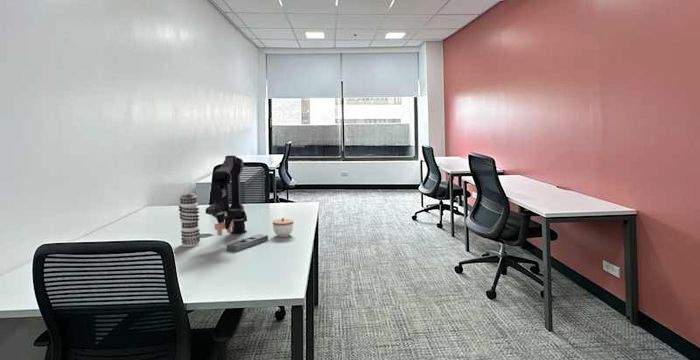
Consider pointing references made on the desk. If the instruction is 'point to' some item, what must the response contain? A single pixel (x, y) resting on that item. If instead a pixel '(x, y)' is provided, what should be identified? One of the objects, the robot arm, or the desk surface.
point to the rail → (247, 242)
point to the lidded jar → (283, 227)
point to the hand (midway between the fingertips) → (224, 229)
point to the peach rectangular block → (222, 226)
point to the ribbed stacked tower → (189, 219)
